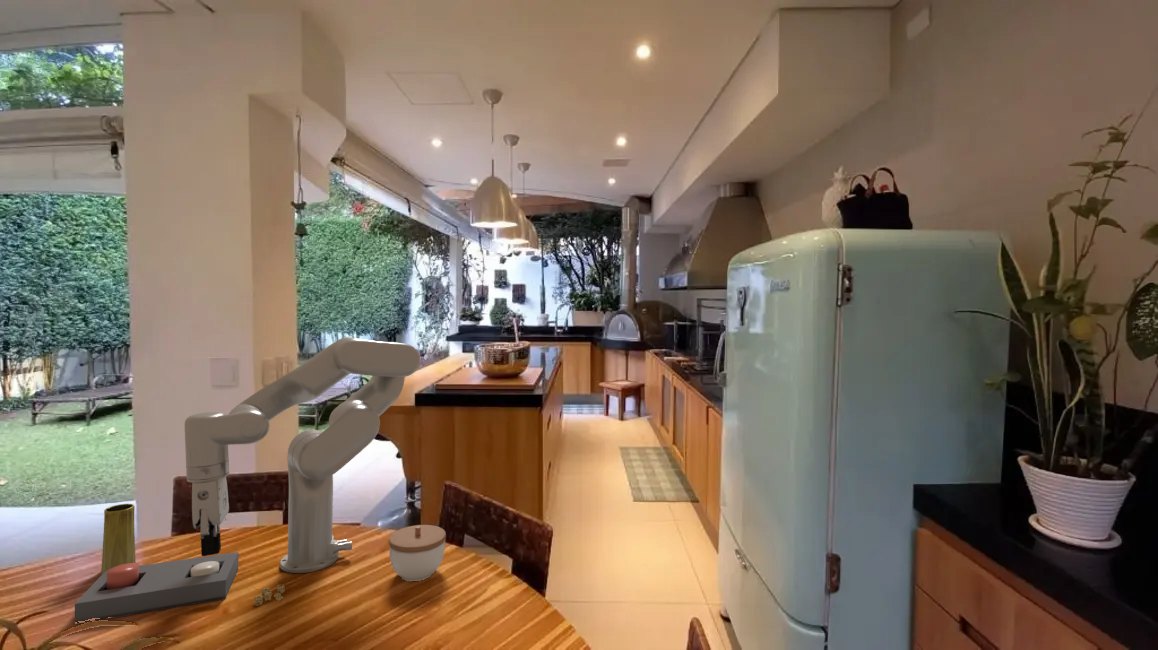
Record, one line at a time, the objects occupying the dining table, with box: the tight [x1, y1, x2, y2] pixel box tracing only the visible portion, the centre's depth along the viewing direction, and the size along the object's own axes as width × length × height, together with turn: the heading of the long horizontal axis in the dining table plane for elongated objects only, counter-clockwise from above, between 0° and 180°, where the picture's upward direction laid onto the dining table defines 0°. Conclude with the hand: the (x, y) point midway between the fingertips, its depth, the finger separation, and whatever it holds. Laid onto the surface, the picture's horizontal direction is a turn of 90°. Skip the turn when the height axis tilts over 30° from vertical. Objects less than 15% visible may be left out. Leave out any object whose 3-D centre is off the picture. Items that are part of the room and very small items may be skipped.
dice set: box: [254, 583, 286, 606], centre depth 109 cm, size 5×5×2 cm
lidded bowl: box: [388, 524, 447, 582], centre depth 120 cm, size 13×13×11 cm
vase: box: [100, 503, 137, 575], centre depth 119 cm, size 6×6×14 cm
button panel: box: [74, 551, 240, 623], centre depth 109 cm, size 24×14×4 cm, turn 114°
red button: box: [106, 562, 140, 590], centre depth 106 cm, size 5×5×3 cm
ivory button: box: [191, 561, 219, 577], centre depth 112 cm, size 5×5×3 cm
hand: (211, 553), depth 112 cm, fingers closed
